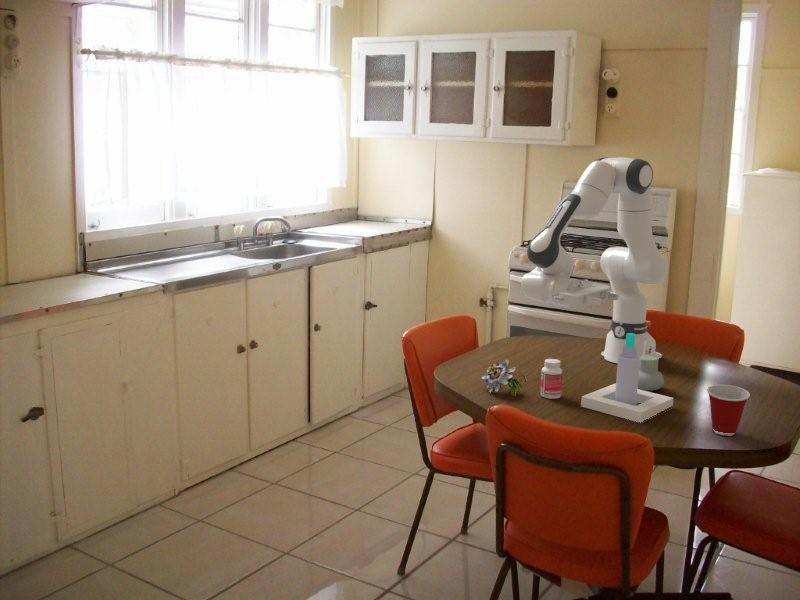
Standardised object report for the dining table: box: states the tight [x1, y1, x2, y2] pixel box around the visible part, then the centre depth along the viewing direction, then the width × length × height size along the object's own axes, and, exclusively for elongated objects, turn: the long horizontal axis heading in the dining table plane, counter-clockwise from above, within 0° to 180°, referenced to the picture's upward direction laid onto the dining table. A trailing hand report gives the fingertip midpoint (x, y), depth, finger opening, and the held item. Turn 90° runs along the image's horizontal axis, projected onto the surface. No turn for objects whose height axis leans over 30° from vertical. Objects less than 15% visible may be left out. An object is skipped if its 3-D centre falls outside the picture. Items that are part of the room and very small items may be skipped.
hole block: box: [580, 382, 674, 424], centre depth 253 cm, size 19×19×3 cm
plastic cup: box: [706, 383, 751, 433], centre depth 233 cm, size 11×11×12 cm
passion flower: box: [480, 359, 528, 398], centre depth 264 cm, size 11×11×12 cm
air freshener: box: [637, 355, 665, 392], centre depth 271 cm, size 11×8×10 cm
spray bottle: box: [615, 333, 640, 406], centre depth 251 cm, size 6×6×22 cm
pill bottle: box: [540, 358, 563, 400], centre depth 261 cm, size 6×6×11 cm
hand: (609, 299), depth 255 cm, fingers open, 8 cm apart
